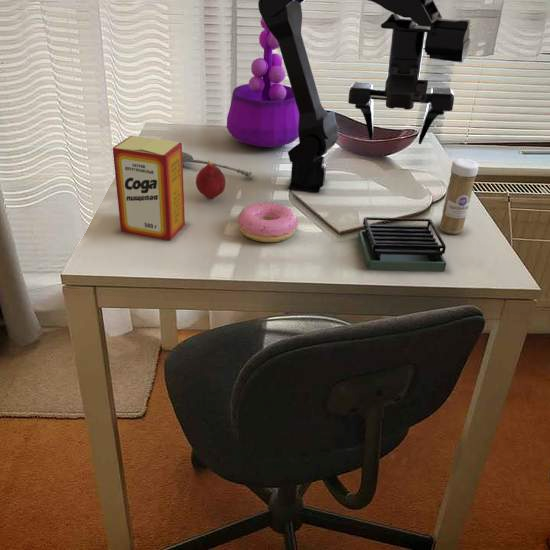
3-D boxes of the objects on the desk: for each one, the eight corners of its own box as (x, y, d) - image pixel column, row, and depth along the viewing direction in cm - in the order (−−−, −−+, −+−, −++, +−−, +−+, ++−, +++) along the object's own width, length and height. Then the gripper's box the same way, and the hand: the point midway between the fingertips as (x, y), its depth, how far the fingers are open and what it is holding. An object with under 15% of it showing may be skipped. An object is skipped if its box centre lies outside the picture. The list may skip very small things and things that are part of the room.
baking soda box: (121, 231, 108) (112, 145, 100) (137, 216, 114) (130, 133, 105) (170, 240, 106) (165, 153, 98) (184, 224, 112) (181, 140, 103)
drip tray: (367, 269, 101) (368, 261, 100) (357, 238, 110) (358, 230, 110) (444, 271, 102) (446, 263, 101) (428, 239, 111) (429, 231, 110)
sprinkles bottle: (448, 236, 112) (463, 168, 105) (433, 225, 116) (447, 159, 109) (468, 233, 114) (484, 165, 107) (453, 222, 118) (468, 156, 110)
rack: (370, 266, 101) (373, 244, 99) (361, 237, 110) (363, 217, 108) (441, 267, 102) (446, 246, 100) (426, 238, 110) (430, 218, 108)
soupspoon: (169, 159, 141) (154, 170, 136) (167, 145, 139) (152, 155, 134) (256, 173, 134) (244, 185, 129) (256, 158, 132) (243, 170, 127)
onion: (230, 197, 123) (230, 159, 119) (216, 207, 118) (216, 169, 114) (205, 191, 125) (205, 153, 121) (190, 201, 120) (189, 163, 116)
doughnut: (308, 237, 110) (310, 216, 107) (256, 251, 104) (257, 230, 102) (276, 213, 117) (277, 193, 115) (226, 225, 112) (226, 205, 110)
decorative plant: (221, 131, 157) (221, 5, 141) (290, 128, 161) (298, 6, 145) (234, 157, 141) (236, 19, 125) (311, 154, 145) (321, 20, 130)
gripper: (348, 62, 103) (341, 151, 111) (461, 70, 100) (446, 160, 108) (355, 50, 113) (348, 132, 121) (458, 56, 109) (444, 140, 117)
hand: (395, 141), depth 116 cm, fingers open, 9 cm apart
